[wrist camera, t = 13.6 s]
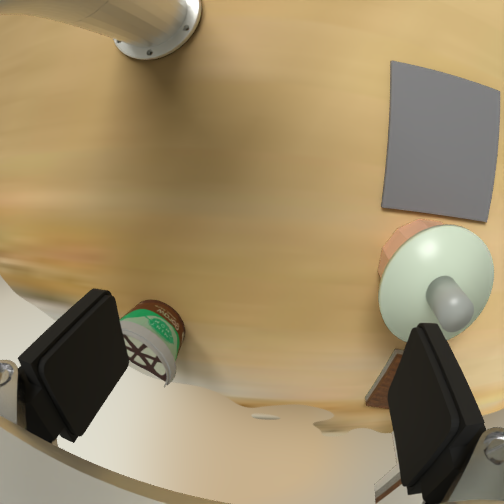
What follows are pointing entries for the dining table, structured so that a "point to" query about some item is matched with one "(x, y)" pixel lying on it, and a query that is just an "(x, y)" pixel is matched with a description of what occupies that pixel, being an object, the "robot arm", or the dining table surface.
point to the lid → (436, 281)
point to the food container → (153, 337)
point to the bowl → (402, 239)
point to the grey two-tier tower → (390, 487)
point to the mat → (440, 143)
